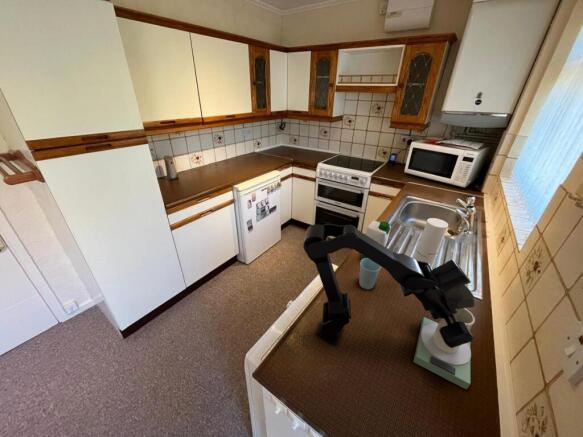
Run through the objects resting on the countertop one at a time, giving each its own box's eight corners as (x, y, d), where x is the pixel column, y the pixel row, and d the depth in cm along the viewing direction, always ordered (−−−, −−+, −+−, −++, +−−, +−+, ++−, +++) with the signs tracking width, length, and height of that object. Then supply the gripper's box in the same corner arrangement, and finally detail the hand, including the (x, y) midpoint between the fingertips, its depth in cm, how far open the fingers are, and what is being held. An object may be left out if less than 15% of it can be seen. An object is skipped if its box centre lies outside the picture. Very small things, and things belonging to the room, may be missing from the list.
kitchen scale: (466, 389, 63) (471, 382, 61) (413, 362, 69) (416, 355, 68) (466, 342, 75) (471, 335, 73) (421, 322, 81) (424, 315, 79)
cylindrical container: (430, 279, 99) (451, 228, 87) (412, 276, 100) (430, 226, 88) (426, 268, 105) (444, 219, 93) (408, 266, 106) (424, 217, 94)
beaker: (451, 357, 67) (468, 329, 61) (428, 339, 72) (441, 311, 66) (462, 345, 70) (479, 316, 64) (439, 328, 75) (453, 300, 69)
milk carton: (377, 268, 105) (386, 230, 95) (358, 260, 110) (365, 222, 100) (384, 259, 111) (394, 221, 101) (366, 251, 116) (373, 215, 106)
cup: (378, 291, 93) (383, 271, 88) (358, 291, 93) (362, 270, 88) (373, 278, 99) (377, 258, 94) (354, 277, 100) (358, 257, 95)
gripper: (480, 311, 52) (512, 349, 56) (443, 258, 68) (470, 290, 72) (431, 330, 56) (464, 363, 61) (408, 276, 73) (435, 305, 77)
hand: (458, 327), depth 67 cm, fingers open, 9 cm apart
